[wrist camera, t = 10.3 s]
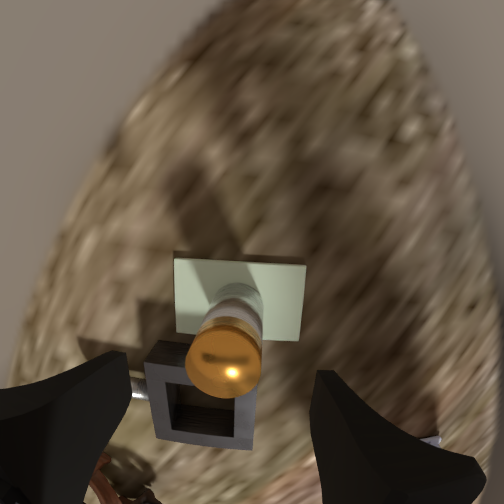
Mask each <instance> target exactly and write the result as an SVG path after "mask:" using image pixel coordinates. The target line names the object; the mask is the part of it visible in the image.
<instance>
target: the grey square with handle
mask: <svg viewBox="0 0 504 504" xmlns="http://www.w3.org/2000/svg"><path fill="white" fill-rule="evenodd" d="M191 345H192V344H184V343H176V342H168V341H160V340H158V341H157V343H156V344H155V346H154V347H153V349H152V350H151V352H150V353H149V355H148V356H147V358H146V359H145V361H144V369H145V376H146V379H142V378H137V377H131V376H130V381H131V387H132V392H133V395H132V398H135V399H140V400H145V401H150V407H151V413H152V418H153V423H154V428H155V433H156V438H158V439H163V440H169V441H174V442H180V443H187V444H193V445H201V446H208V447H217V448H227V449H238V450H252V448H253V435H254V421H255V408H256V394H257V384H256V386H255V387H254V388H253V389H252V390H251V391H249V392H248V393H246V394H244V395H242V396H239V397H235V411H232V410H221V409H211V408H202V407H194V406H187V405H181V399H180V388H179V384H183V385H191V386H195V385H194V384H193V383H192V382H191V380H190V379H189V377H188V375H187V372H186V368H185V360H186V356H187V353H188V351H189V349H190V347H191Z"/></svg>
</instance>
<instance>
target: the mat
mask: <svg viewBox="0 0 504 504" xmlns="http://www.w3.org/2000/svg"><path fill="white" fill-rule="evenodd" d="M305 277H306V265H298V264H279V263H260V262H242V261H225V260H208V259H191V258H175V259H174V281H175V312H176V332H177V333H185V334H195V335H196V334H197V332H198V330H199V328H200V325H201V323H202V321H203V319H204V317H205V315H206V313H207V311H208V309H209V306H210V304H211V302H212V300H213V298H214V296H215V294H216V293H217V291H218V290H219V289H220V288H222V287H223V286H225V285H227V284H231V283H243V284H247V285H249V286H251V287H253V288H254V289H255V290H256V291H257V292H258V293H259V294H260V296H261V298H262V300H263V304H264V315H263V338H262V340H278V341H299V334H300V325H301V316H302V307H303V298H304V288H305Z"/></svg>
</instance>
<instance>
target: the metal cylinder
mask: <svg viewBox="0 0 504 504" xmlns="http://www.w3.org/2000/svg"><path fill="white" fill-rule="evenodd" d="M263 315H264V304H263V300H262V298H261V296H260V294H259V293H258V292H257V291H256V290H255V289H254V288H253V287H251V286H249V285H247V284H243V283H231V284H227V285H225V286H223V287H222V288H220V289H219V290H218V291H217V293H216V294H215V296H214V298H213V300H212V302H211V304H210V306H209V309H208V311H207V313H206V315H205V317H204V319H203V321H202V323H201V325H200V328H199V330H198V332H197V334H196V336H195V338H194V340H193V343H192V345H191V347H190V349H189V351H188V353H187V356H186V360H185V368H186V372H187V375H188V377H189V379H190V380H191V382H192V383H193V384H194V385H195V386H196V387H197V388H198V389H200V390H201V391H203V392H204V393H206V394H209V395H211V396H214V397H218V398H235V397H239V396H242V395H244V394H246V393H248V392H249V391H251V390H252V389H253V388H254V387H255V386H256V384H257V383H258V381H259V378H260V375H261V359H262V338H263Z"/></svg>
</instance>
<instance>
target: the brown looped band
mask: <svg viewBox="0 0 504 504" xmlns="http://www.w3.org/2000/svg"><path fill="white" fill-rule="evenodd" d="M110 462H111V457H110V456H108V455H107V454H106V453H103V452H102V454H101V456H100V458H99V460H98V462H97V465H96V467H95V469H94V472H93V474H92V477H91V480H90V482H89V485H90V487H91V488H92V489H93V491H94V492H95V493H96V495H97V497H98V499H99V501H100V503H101V504H162V503H161V502H160V501H158V500H157V499H156V498H155V496H154V493H153V492H152V490H151V489H149V488H147V489H146V490H145V491H144V493H143V494H142V495H141V496H140V497H139V498H137V499H136V500H134V501H131V500H129V499H127V498H125V497H124V496H120V497H118V496H117V494H116V492H115V490H114V489H113V488H112V487H111V486H110V484H109V482H108V481H107V479H106V477H105V476H104V475H103V473H102V472H101V471H100V469H101V468H102V467H103V466H104V465H105V464H108V463H110ZM83 504H86V503H84V502H83Z"/></svg>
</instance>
